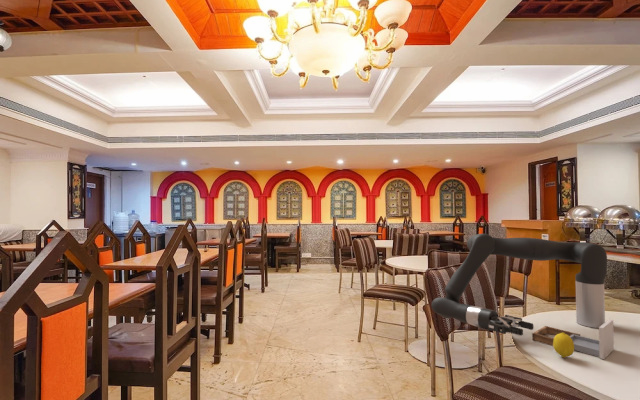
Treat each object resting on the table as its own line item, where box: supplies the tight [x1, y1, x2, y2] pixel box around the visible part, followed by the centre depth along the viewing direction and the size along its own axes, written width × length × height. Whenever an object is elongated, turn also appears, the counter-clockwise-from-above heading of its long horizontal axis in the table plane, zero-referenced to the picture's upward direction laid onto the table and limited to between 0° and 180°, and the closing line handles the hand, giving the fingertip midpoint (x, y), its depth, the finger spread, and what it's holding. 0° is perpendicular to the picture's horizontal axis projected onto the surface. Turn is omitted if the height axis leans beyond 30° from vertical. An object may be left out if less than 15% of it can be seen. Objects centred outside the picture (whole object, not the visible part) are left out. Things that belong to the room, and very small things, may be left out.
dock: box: [531, 325, 581, 347], centre depth 122 cm, size 12×11×2 cm
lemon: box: [552, 333, 575, 359], centre depth 109 cm, size 6×6×8 cm
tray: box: [569, 318, 615, 360], centre depth 115 cm, size 12×11×10 cm
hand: (527, 329), depth 117 cm, fingers open, 8 cm apart
